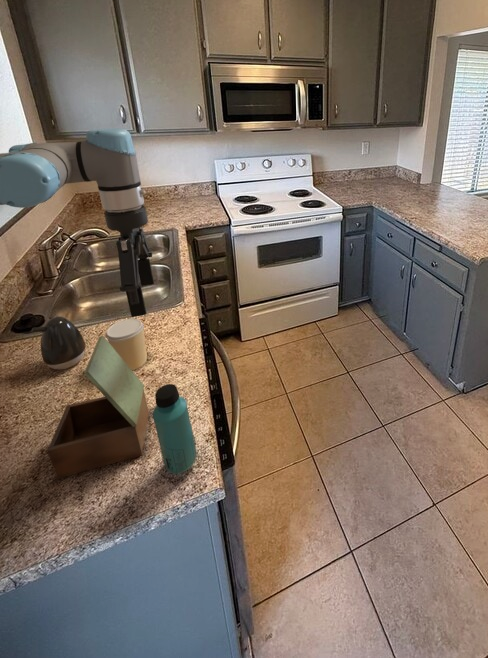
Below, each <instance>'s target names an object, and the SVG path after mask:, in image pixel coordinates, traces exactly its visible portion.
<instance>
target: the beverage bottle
mask: <svg viewBox="0 0 488 658" xmlns="http://www.w3.org/2000/svg"><path fill="white" fill-rule="evenodd" d="M154 398H155V404H156V405H155V406H154V408H153V410H152V419H153V422H154V426H155V431H156V436H157V439H158V443H159V447H160V454H161V459H162V463H163V465H164V468H165V470H166V471H167V472H168V473H169V474H172V475H173V474H174V475H179V474H183V473H185V472H186V471H188V470H189V469H190V468H191V467H193V465H194V464H195V462H196V459H197V453H198V451H197V447H196V446H197V445H196V438H195V434H194V431H193V427H192V423H191V418H190V414H189V409H188V402H187V399H186V398H185V397H183V396H180V392H179V390H178V387H177V386H176V385H175V384H173V383H168V384H164V385H161V387H159V388H158V389H157V390H156V392H155V394H154Z"/></svg>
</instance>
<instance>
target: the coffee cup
mask: <svg viewBox="0 0 488 658" xmlns="http://www.w3.org/2000/svg"><path fill="white" fill-rule="evenodd" d="M105 339H106V340H107V341H108V342H109V344H110V345H111V346H112V347H113V348H114V350H115V351H116V352H117V353H118V354H119V356H120V357H121V358H122V359H123V360H124V362H125V363H126V364H127V365H128V366H129V368H130V369H131V370H132V371H135V370H137V369H139V368H141V367H142V366H144V365H145V363H147V359H148V355H147V354H148V353H147V345H146V337H145V331H144V323H143V322H142V321H141V320H140V319H138V318H125V319H122V320H119V321H117V322H115V323H113V324H111V325H110V326H109V327H108V328H107V330H106V333H105Z"/></svg>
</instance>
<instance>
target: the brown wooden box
mask: <svg viewBox="0 0 488 658" xmlns="http://www.w3.org/2000/svg"><path fill="white" fill-rule="evenodd" d="M149 414H150V412H149V407H148V403H147V397H146V395H145V390H143V395H142V400H141V405H140V411H139V416H138V421H137V425H136V426H134V427H133V426H132V425H131V424H130V423H129V422H128V421H127V420H126V419H125V418H124V417H123V416H122V414H121V413H120V412H119V411H118V410H117V409H116V408H115V407H114V406H113V405H112V404H111V402H110V401H109V400H108V399H107V398H106V397H105V396H102V397H98V398H93V399H89V400H85V401H84V400H83V401H80V402H76V403H72V404H67V405H66V406H65V408H64V411H63V414H62V415H61V419H60V421H59V422H58V425H57V426H56V429H55V433H54V434H53V437H52V438H51V441H50V444H49V446H48V448H47V450H46V451H47V454H48V457H49V459H50V463H51V465H52V468H53V470H54V473H55V475H56V478H57V479H62V478H65V477H69V476H72V475H73V476H74V475H76V474H79V473H80V474H81V473H84V472H87V471H90V470H94V469H98V468H101V467H104V466H108V465H112V464H115V463H119V462H122V461H126V460H129V459H133V458H136V457H140V456H143V455H144V454H143V452H144V446H145V440H146V433H147V428H148V422H149V421H148V420H149V416H150V415H149Z"/></svg>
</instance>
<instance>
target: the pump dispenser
mask: <svg viewBox="0 0 488 658" xmlns="http://www.w3.org/2000/svg"><path fill="white" fill-rule="evenodd" d="M31 332H33V333H41V339H40V353H41V358H42V361H43V363H44V364H45V365H47V366H48V367H49V368H50V369H54V370H66V369H69V368H71V367H73V366H75V365H77V364H79V362H80V361H81V360H82V359H83V357H84V355H85V352H86V348H87V344H86V342H85V341H86V340H85V339H84V337H83V335H82V333H81V332H80V331H79V329H78V328H77V327H76V326H75V324H74V323H73V322H72V321H71V320H69V319H68V318H66V317H64V316H54V317H52V318H50V319H48V321H46V323H45V324H44V326H37V327H32V328H31Z"/></svg>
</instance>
